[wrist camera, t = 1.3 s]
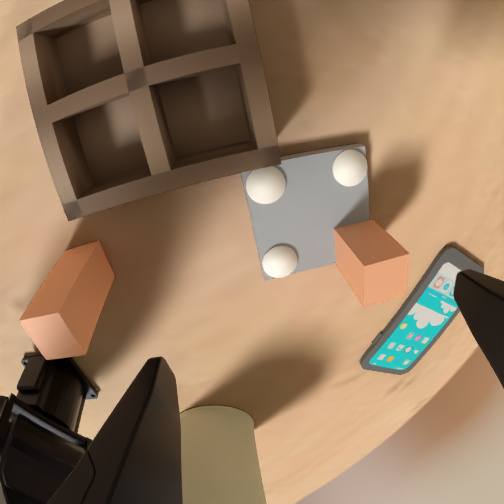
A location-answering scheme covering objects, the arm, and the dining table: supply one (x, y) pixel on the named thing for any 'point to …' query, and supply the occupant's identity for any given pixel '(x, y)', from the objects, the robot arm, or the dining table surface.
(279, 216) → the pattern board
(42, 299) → the peg
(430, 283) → the smartphone
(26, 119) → the dining table surface
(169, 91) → the socket block
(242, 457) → the can
